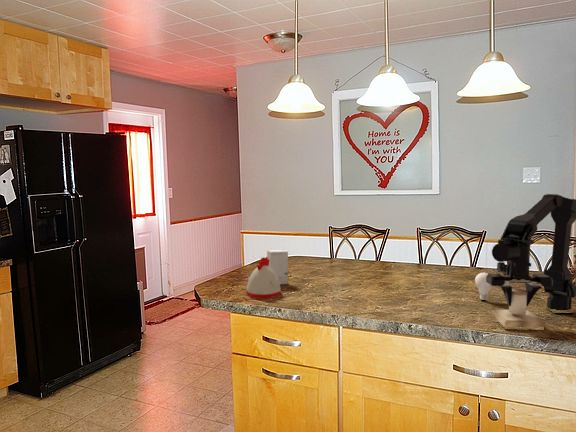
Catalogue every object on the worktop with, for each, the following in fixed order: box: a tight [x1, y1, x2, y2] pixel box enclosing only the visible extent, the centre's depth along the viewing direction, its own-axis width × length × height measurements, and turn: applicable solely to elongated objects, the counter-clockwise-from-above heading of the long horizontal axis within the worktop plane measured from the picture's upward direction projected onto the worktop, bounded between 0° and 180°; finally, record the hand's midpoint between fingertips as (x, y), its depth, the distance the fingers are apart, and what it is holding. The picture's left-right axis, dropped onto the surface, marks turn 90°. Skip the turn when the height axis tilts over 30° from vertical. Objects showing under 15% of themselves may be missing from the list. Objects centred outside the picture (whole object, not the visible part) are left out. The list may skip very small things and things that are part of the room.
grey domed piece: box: [246, 256, 282, 299], centre depth 190 cm, size 14×14×15 cm
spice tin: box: [508, 288, 528, 315], centre depth 150 cm, size 5×5×7 cm
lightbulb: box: [474, 272, 493, 301], centre depth 177 cm, size 6×6×11 cm
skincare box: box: [266, 249, 289, 286], centre depth 206 cm, size 8×6×15 cm
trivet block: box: [490, 309, 546, 328], centre depth 151 cm, size 12×12×3 cm
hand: (517, 305), depth 151 cm, fingers closed on spice tin, 5 cm apart
